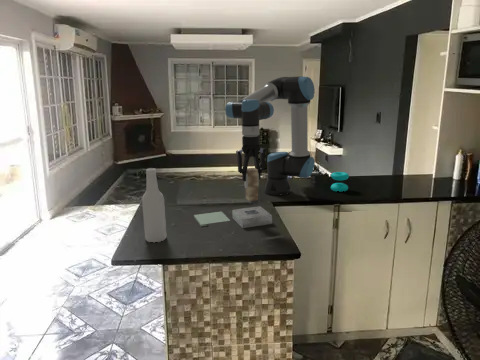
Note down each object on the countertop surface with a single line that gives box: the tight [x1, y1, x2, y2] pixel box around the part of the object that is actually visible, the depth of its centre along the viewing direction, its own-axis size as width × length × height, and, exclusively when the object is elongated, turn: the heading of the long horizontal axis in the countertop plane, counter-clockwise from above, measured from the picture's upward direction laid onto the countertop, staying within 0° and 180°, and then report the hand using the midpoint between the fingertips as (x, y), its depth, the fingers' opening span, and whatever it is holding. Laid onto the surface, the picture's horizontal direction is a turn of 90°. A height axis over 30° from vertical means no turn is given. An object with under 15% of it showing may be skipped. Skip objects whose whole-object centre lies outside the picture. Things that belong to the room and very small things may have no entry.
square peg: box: [244, 167, 259, 202], centre depth 181 cm, size 4×4×14 cm
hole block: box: [231, 205, 273, 229], centre depth 185 cm, size 14×14×5 cm
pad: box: [193, 211, 231, 227], centre depth 190 cm, size 14×14×1 cm
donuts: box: [330, 171, 350, 193], centre depth 235 cm, size 10×10×10 cm
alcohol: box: [141, 167, 168, 244], centre depth 165 cm, size 9×9×30 cm
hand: (251, 187), depth 181 cm, fingers closed on square peg, 4 cm apart
